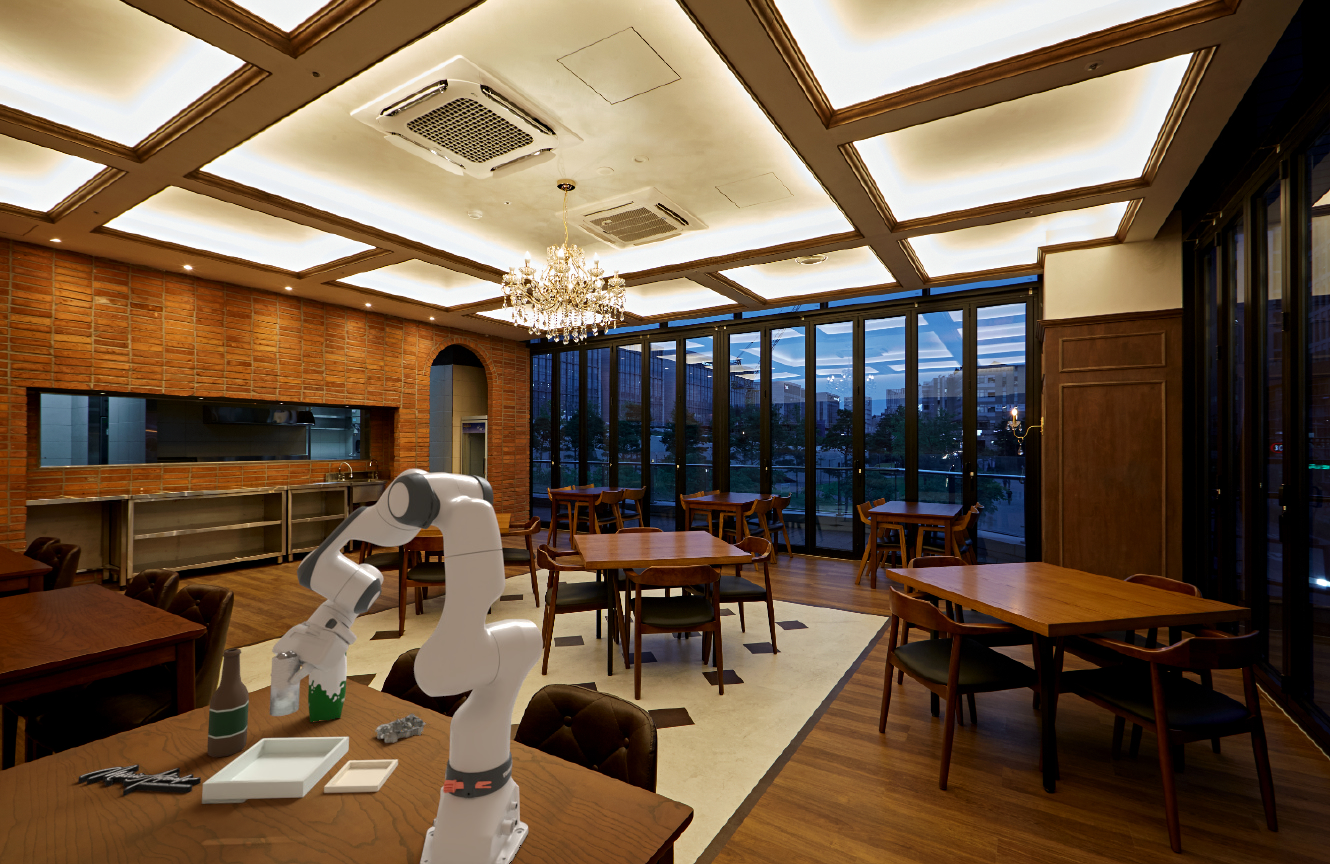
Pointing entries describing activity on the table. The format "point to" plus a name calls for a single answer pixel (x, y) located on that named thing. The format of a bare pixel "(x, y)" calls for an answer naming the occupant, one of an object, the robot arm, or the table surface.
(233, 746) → the beer bottle
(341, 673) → the milk carton
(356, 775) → the tray
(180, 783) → the nameplate
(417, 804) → the table surface
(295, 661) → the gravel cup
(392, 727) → the egg carton
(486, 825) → the robot arm
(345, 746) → the bin
